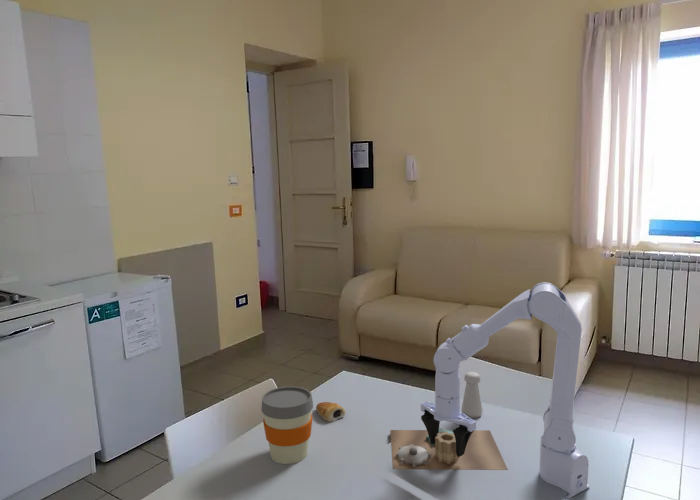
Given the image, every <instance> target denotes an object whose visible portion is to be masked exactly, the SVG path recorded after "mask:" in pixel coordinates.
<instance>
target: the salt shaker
mask: <svg viewBox="0 0 700 500" xmlns="http://www.w3.org/2000/svg"><path fill="white" fill-rule="evenodd" d="M463 377H464V381H465V383H466V384H465V388H464V389H465V390H464V394H463V399H462V404H461V408H460V411H461V412H462V413H464V414H465V415H466V416H468V417H469V418H471V419H472V418H473V419H476V418H479V417H481V416H482V415H483V410H484V409H483V406H482V404H483V403H482V398H481V394H480V389H479V388H480V387H479V383H480V382H481V375H480V374H479V373H478V372H476V371H468V372H466V373H465V374H464V376H463Z"/></svg>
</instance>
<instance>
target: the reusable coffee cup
mask: <svg viewBox="0 0 700 500" xmlns="http://www.w3.org/2000/svg"><path fill="white" fill-rule="evenodd" d="M313 408H314V402H313V395H312V392H311V391H310V390H309V389H307V388H305V387H300V386H290V385H289V386H281V387H276V388H273V389H270V390H268V391H267V392H266V393H264V394H263V395H262V398H261V413H262V414H263V418H262V419H263V420H262V421H263V422H262V424H263V428H264V434H265V439H266V441H267V442H268V446H269V447H268V448H269V452H270V457H271V459H272V460H273V461H274V462H275V463H278V464H283V465H292V464H296V463H298V462H301V461H303V460H304V459H306V457H307V456H308V452H309V451H308V450H309V439H310V437H311V435H312V429H313V428H312V425H313V413H312V411H313Z"/></svg>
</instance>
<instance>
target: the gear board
mask: <svg viewBox="0 0 700 500" xmlns="http://www.w3.org/2000/svg"><path fill="white" fill-rule="evenodd" d="M453 430H454V429H450V430H449V429H448V430H447V429H443V428H442V427H439V433H444V432H447V433H453ZM389 432H390V433H389V434H390V436H389V437H390V444H391V460H392V469H393V470H461V471H462V470H464V471H465V470H471V471H472V470H476V471H477V470H478V471H479V470H480V471H481V470H483V471H484V470H485V471H486V470H487V471H488V470H490V471H491V470H492V471H494V470H495V471H500V470H501V471H508V470H509V468H508V467H507V465H506V463H505V462H506V461H504V458H503V456H502V454H501V451H500V449H499V447H498V445H497V443H496V441H495V438H494V436H493V434H492V432H491V430H487V429H486V430H484V429H483V430H480V429H479V430H476V429H475V430H474V431H473V433H472V434H471V436H470V438H469V440H468V442H467V445H466V448H465V452H464V454H463V455H462V456H460V457H459V458H458V461H457V462H450V464H447V462H439V461H438V458H435V444H431V443H430V439H429V435H428V432H427V429H390V431H389Z"/></svg>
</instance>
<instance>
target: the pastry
mask: <svg viewBox="0 0 700 500" xmlns="http://www.w3.org/2000/svg"><path fill="white" fill-rule="evenodd" d="M315 409H316V412H317V413H318V416H319V417H320V416H321V418H322V419H323V420H324V421H326V422H328V423H333V422H335V421H337V419H338V420H339V419H342V418H344V416H345V415H346V409H345V408H344V407H343V406H341V405H340V404H338V403H337V402H331V401H323V402H319V403H317V404H316V406H315Z"/></svg>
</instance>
